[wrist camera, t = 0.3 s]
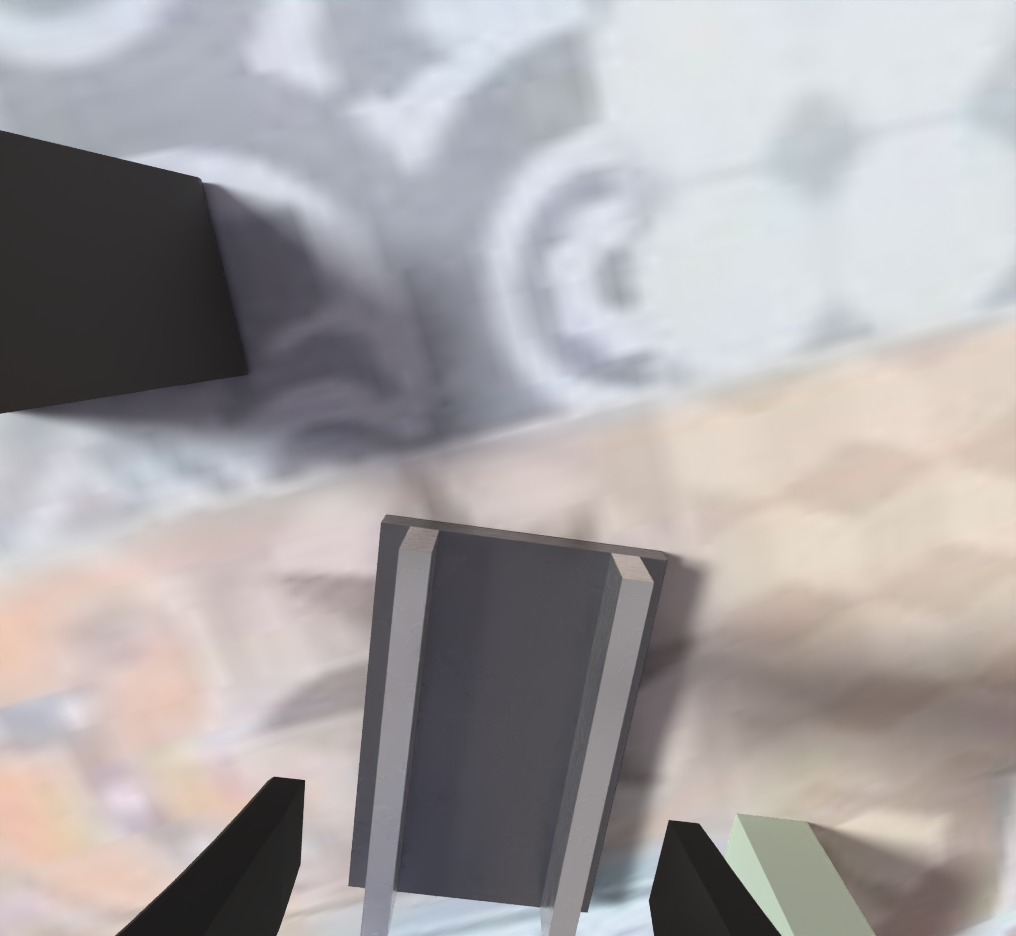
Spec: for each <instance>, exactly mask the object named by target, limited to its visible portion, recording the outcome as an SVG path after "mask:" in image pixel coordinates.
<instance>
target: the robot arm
mask: <svg viewBox="0 0 1016 936" xmlns="http://www.w3.org/2000/svg"><path fill="white" fill-rule="evenodd" d="M304 791H305V780H299V779H290V778H281V777H273V778H271V779H270V780H268V781H267V782H266V784H265V785H264V786H263V787H262V788H261V789H260V790H259V792H258V793H257V794H256V795H255V796H254V797H253V798H252V799H251V801H250V802H249V803H248V804H247V805H246V806H245V807H244V808H243V810H242V811H241V812H240V813H239V814H238V815H237V816H236V817H235V818H234V819H233V820H232V822H231V823H230V824H229V825H228V826H227V827H226V828H225V829H224V830H223V831H222V832H221V833H220V834H219V835H218V836H217V838H216V839H215V840H214V841H213V842H212V843H211V844H210V845H209V846H208V847H207V848H206V849H205V850H204V851H203V852H202V853H201V854H200V855H199V856H198V857H197V858H196V859H195V860H194V861H193V862H192V863H191V864H190V865H189V866H188V867H187V868H186V869H185V870H184V871H183V872H182V873H181V874H180V875H179V876H178V877H177V878H176V879H175V880H174V881H173V882H172V883H171V884H170V885H169V886H168V887H167V888H166V889H165V890H164V891H163V892H162V893H161V894H160V895H158V896H157V897H156V898H155V899H154V900H153V901H152V902H151V903H150V904H149V905H148V906H147V907H146V908H145V909H144V910H143V911H141V912H140V913H139V914H138V915H137V916H136V917H135V918H134V919H133V920H132V921H131V922H130V923H129V924H128V925H127V926H125V927H124V928H123V929H122V930H121V931H120V932H119V933H118V934H117V935H115V936H276V935H277V933H278V931H279V928H280V925H281V922H282V919H283V916H284V913H285V910H286V907H287V904H288V902H289V899H290V895H291V892H292V889H293V886H294V883H295V880H296V877H297V874H298V870H299V867H300V864H301V846H302V828H303V810H304ZM649 905H650V911H651V918H652V924H653V931H654V936H782V935H781V934H780V933H779V931H778V930H777V929H776V928H775V926H774V925H773V924H772V922H771V921H770V920H769V918H768V917H767V916H766V915H765V913H764V912H763V911H762V909H761V908H760V907H759V905H758V904H757V902H756V901H755V900H754V898H753V897H752V896H751V894H750V893H749V892H748V890H747V889H746V888H745V886H744V885H743V883H742V882H741V881H740V879H739V878H738V877H737V875H736V874H735V872H734V871H733V870H732V868H731V867H730V865H729V864H728V863H727V861H726V860H725V859H724V857H723V856H722V854H721V853H720V852H719V850H718V849H717V847H716V846H715V845H714V843H713V842H712V840H711V839H710V838H709V836H708V835H707V834H706V832H705V831H704V830H703V828H702V827H701V825H700V824H699V823H690V822H681V821H672V820H669V822H668V826H667V830H666V834H665V838H664V842H663V846H662V850H661V854H660V858H659V862H658V866H657V870H656V874H655V878H654V882H653V886H652V890H651V894H650V898H649Z"/></svg>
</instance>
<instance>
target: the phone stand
mask: <svg viewBox="0 0 1016 936" xmlns="http://www.w3.org/2000/svg"><path fill="white" fill-rule="evenodd" d="M241 375H248V371H247V367H246V363H245V359H244V355H243V350H242V346H241V342H240V338H239V334H238V330H237V326H236V321H235V317H234V313H233V309H232V305H231V301H230V297H229V292H228V288H227V284H226V280H225V276H224V272H223V268H222V263H221V259H220V255H219V251H218V247H217V243H216V239H215V234H214V230H213V226H212V222H211V218H210V214H209V210H208V205H207V201H206V197H205V193H204V189H203V185H202V181H201V179H200V178H198V177H194V176H190V175H185V174H181V173H177V172H173V171H169V170H164V169H160V168H156V167H152V166H148V165H143V164H139V163H135V162H131V161H127V160H122V159H118V158H114V157H110V156H106V155H102V154H97V153H93V152H89V151H85V150H81V149H76V148H72V147H68V146H64V145H60V144H55V143H51V142H47V141H43V140H39V139H34V138H30V137H26V136H22V135H18V134H13V133H9V132H5V131H1V130H0V414H1V413H7V412H13V411H20V410H26V409H32V408H39V407H45V406H51V405H58V404H64V403H70V402H77V401H83V400H89V399H96V398H102V397H108V396H115V395H121V394H127V393H134V392H140V391H146V390H153V389H159V388H165V387H172V386H178V385H184V384H191V383H197V382H203V381H210V380H216V379H222V378H229V377H235V376H241Z"/></svg>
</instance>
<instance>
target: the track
mask: <svg viewBox="0 0 1016 936" xmlns="http://www.w3.org/2000/svg"><path fill="white" fill-rule="evenodd" d="M667 561H668V560H667V559H666V557H665V556H664V555H663V553H662V552H661V551H654V550H647V549H639V548H632V547H624V546H616V545H609V544H601V543H594V542H586V541H579V540H571V539H564V538H556V537H549V536H541V535H534V534H526V533H519V532H511V531H504V530H496V529H489V528H481V527H474V526H466V525H459V524H451V523H444V522H436V521H429V520H421V519H414V518H406V517H399V516H391V515H386V516H385V517H384V519H383V520H382V522H381V530H380V541H379V552H378V563H377V574H376V585H375V596H374V607H373V619H372V630H371V641H370V652H369V663H368V674H367V685H366V696H365V707H364V718H363V729H362V741H361V752H360V763H359V774H358V785H357V796H356V807H355V818H354V829H353V840H352V851H351V863H350V874H349V885H348V886H352V887H361V888H365V896H364V906H363V916H362V926H361V936H388V933H389V928H390V923H391V918H392V913H393V908H394V903H395V898H396V893H397V892H407V893H416V894H425V895H434V896H443V897H452V898H461V899H470V900H479V901H488V902H497V903H506V904H515V905H524V906H533V907H540V912H541V930H542V936H575V934H576V929H577V925H578V920H579V916H580V912H587V913H588V908H589V904H590V899H591V895H592V891H593V886H594V882H595V877H596V873H597V869H598V864H599V860H600V855H601V851H602V847H603V842H604V838H605V833H606V829H607V825H608V820H609V816H610V811H611V807H612V803H613V798H614V794H615V789H616V785H617V781H618V776H619V772H620V767H621V763H622V759H623V754H624V750H625V745H626V741H627V737H628V732H629V728H630V723H631V719H632V715H633V710H634V706H635V701H636V697H637V693H638V688H639V684H640V679H641V675H642V671H643V666H644V662H645V657H646V653H647V649H648V644H649V640H650V635H651V631H652V627H653V622H654V618H655V613H656V609H657V605H658V600H659V596H660V591H661V587H662V583H663V578H664V574H665V569H666V565H667Z"/></svg>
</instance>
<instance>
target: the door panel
mask: <svg viewBox="0 0 1016 936" xmlns="http://www.w3.org/2000/svg"><path fill="white" fill-rule="evenodd" d="M724 859H725V860H726V861H727V863H728V864H729V865H730V867H731V868H732V870H733V871H734V872H735V874H736V875H737V877H738V878H739V879H740V881H741V882H742V883H743V885H744V886H745V888H746V889H747V890H748V892H749V893H750V894H751V896H752V897H753V898H754V900H755V901H756V902H757V904H758V905H759V907H760V908H761V909H762V911H763V912H764V913H765V915H766V916H767V917H768V918H769V920H770V921H771V922H772V924H773V925H774V926H775V928H776V929H777V930H778V931H779V933H780V934H781V935H782V936H876V935H875V933H874V932H873V930H872V928H871V927H870V925H869V923H868V922H867V920H866V918H865V917H864V915H863V913H862V912H861V910H860V909H859V907H858V905H857V904H856V902H855V900H854V899H853V897H852V895H851V894H850V892H849V890H848V889H847V887H846V886H845V884H844V882H843V881H842V879H841V877H840V876H839V874H838V872H837V871H836V869H835V867H834V866H833V864H832V862H831V861H830V859H829V858H828V856H827V854H826V853H825V851H824V849H823V848H822V846H821V844H820V843H819V841H818V839H817V838H816V836H815V834H814V833H813V831H812V830H811V828H810V826H809V825H808V823H807V822H804V821H796V820H787V819H779V818H770V817H762V816H753V815H745V814H736V817H735V820H734V824H733V827H732V830H731V834H730V837H729V840H728V844H727V847H726V851H725V854H724Z"/></svg>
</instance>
